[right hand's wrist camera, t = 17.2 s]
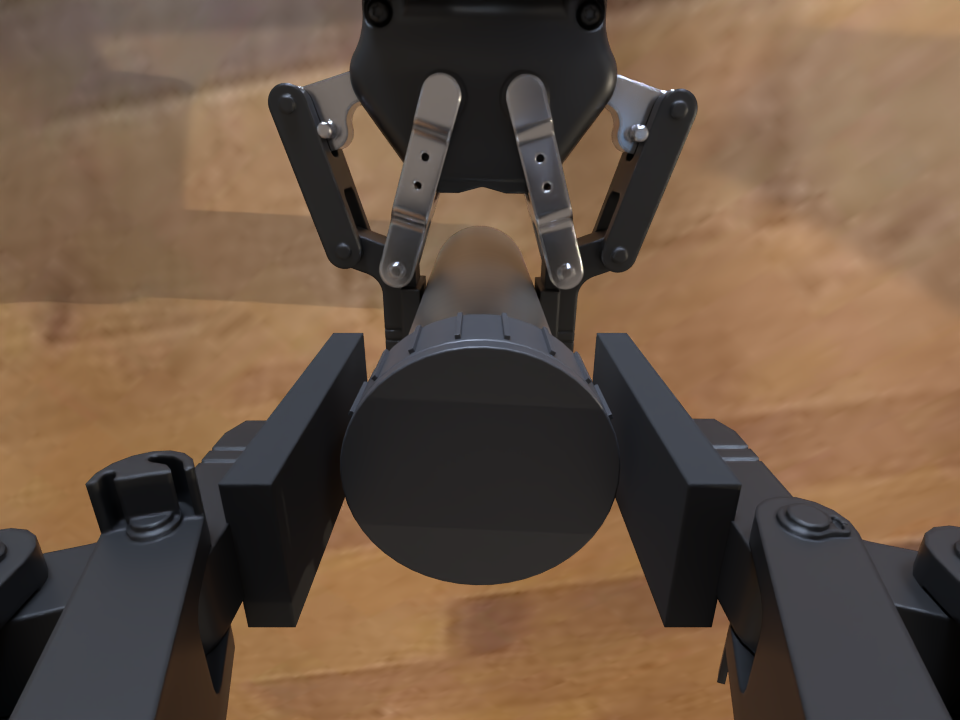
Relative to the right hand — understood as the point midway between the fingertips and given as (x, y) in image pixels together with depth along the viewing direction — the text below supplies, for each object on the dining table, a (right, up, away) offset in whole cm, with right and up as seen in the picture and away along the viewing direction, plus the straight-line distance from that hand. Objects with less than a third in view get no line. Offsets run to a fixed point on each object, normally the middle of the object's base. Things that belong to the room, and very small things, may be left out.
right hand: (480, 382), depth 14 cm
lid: (0, -2, -4) cm, 4 cm away
